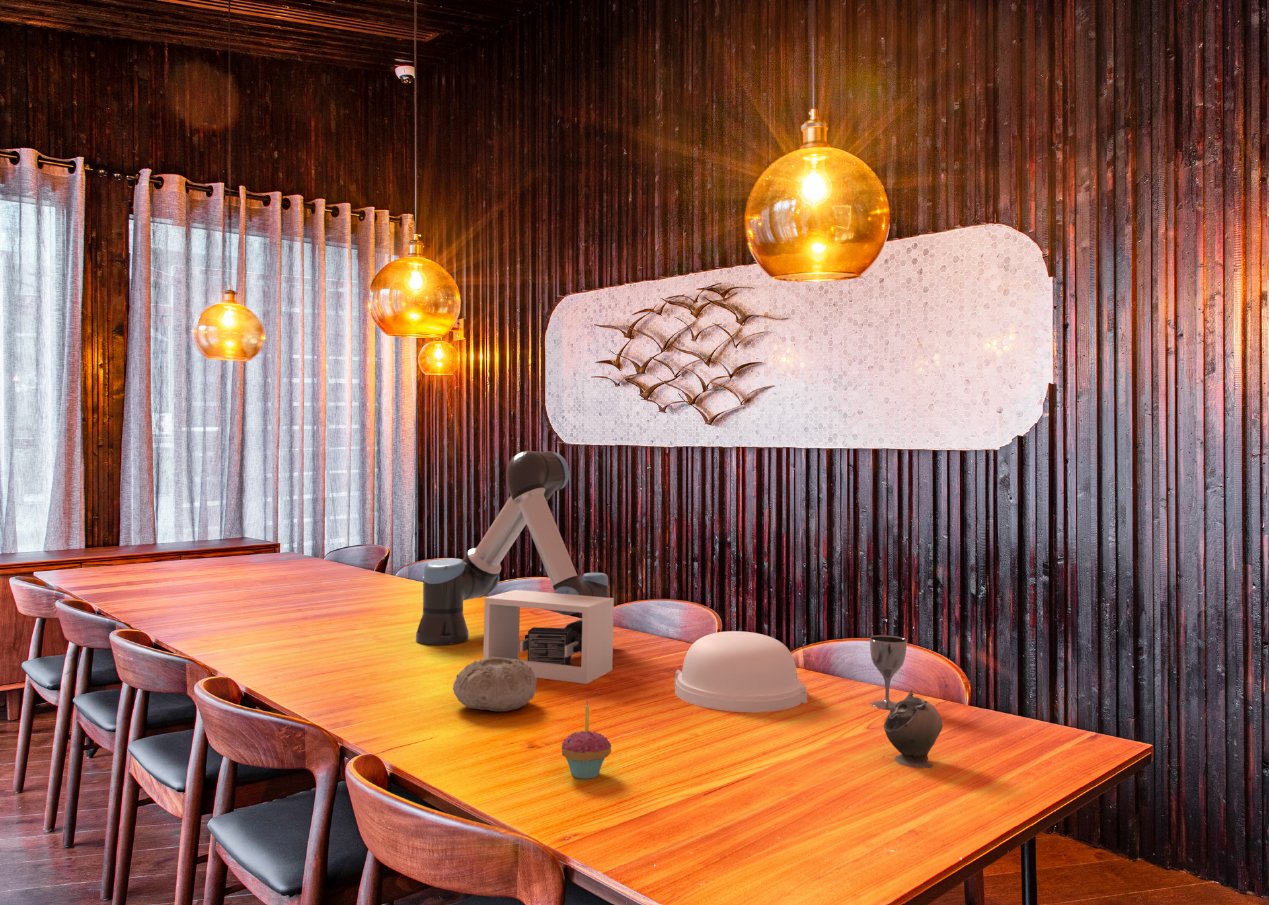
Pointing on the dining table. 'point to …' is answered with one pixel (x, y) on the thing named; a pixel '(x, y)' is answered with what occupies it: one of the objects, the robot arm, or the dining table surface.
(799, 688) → the dome cover
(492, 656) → the cubby
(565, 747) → the cupcake
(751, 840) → the dining table surface
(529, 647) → the small box
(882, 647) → the wine glass
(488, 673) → the decorative shell
